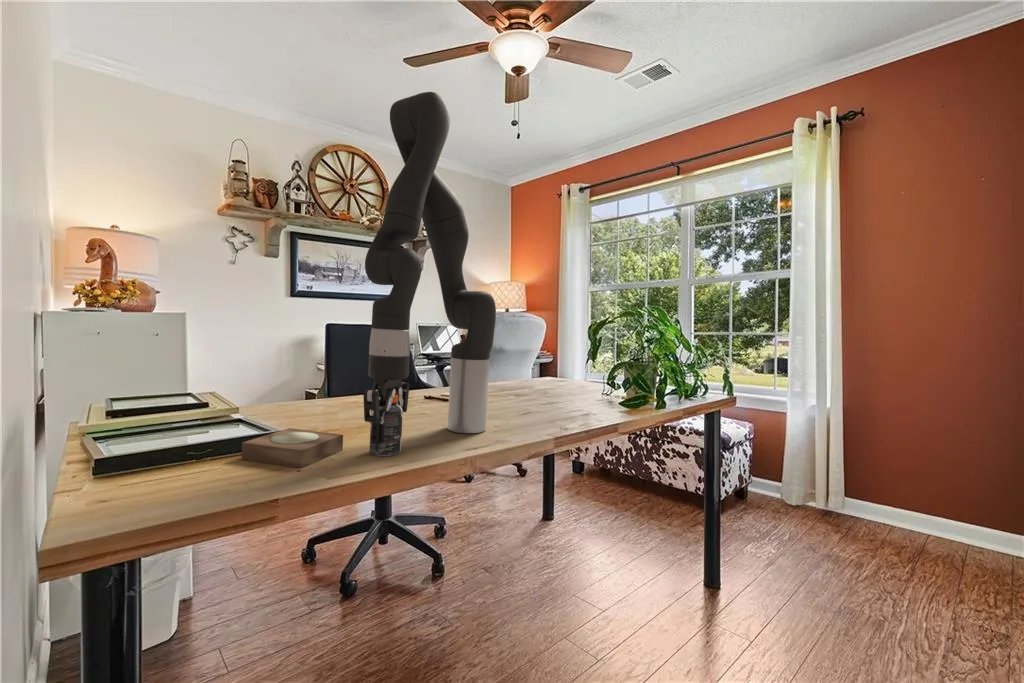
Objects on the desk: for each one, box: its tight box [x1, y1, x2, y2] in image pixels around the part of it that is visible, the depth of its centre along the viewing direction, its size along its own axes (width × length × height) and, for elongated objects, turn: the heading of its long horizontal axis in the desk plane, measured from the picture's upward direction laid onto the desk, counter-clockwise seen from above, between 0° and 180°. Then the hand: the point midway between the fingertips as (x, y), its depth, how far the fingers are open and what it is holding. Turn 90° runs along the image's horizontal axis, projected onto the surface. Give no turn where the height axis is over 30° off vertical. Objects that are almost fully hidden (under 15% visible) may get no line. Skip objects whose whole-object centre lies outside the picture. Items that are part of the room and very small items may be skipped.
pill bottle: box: [369, 395, 404, 457], centre depth 91 cm, size 6×6×11 cm
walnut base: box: [241, 428, 344, 469], centre depth 87 cm, size 12×12×3 cm
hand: (385, 439), depth 91 cm, fingers closed on pill bottle, 6 cm apart
